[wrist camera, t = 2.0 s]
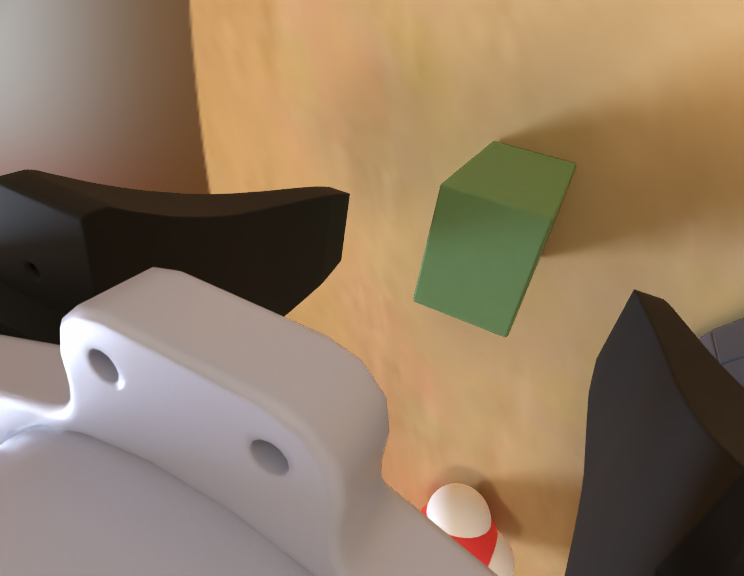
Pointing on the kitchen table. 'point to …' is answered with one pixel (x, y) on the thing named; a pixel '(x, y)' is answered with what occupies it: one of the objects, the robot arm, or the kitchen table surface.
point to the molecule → (471, 525)
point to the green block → (491, 234)
